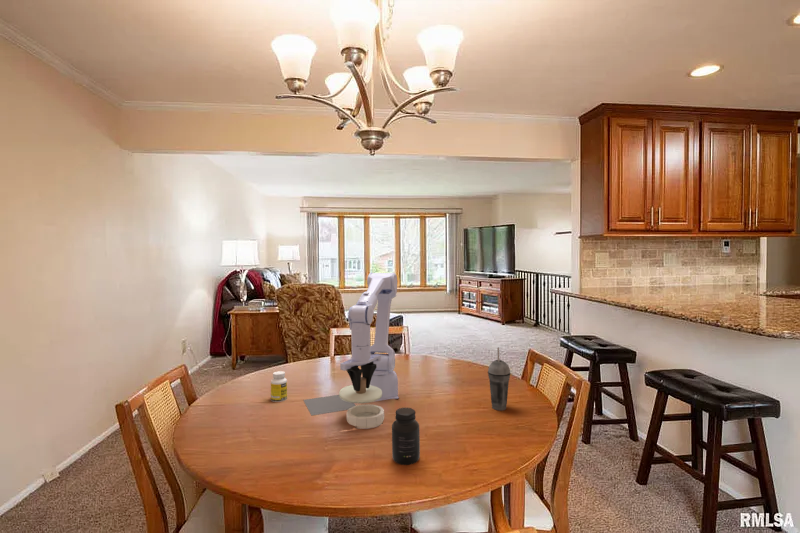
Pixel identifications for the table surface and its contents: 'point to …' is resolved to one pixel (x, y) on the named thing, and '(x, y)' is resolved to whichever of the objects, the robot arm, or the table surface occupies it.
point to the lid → (360, 393)
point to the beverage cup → (499, 383)
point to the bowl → (365, 416)
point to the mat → (327, 405)
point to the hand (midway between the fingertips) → (361, 388)
